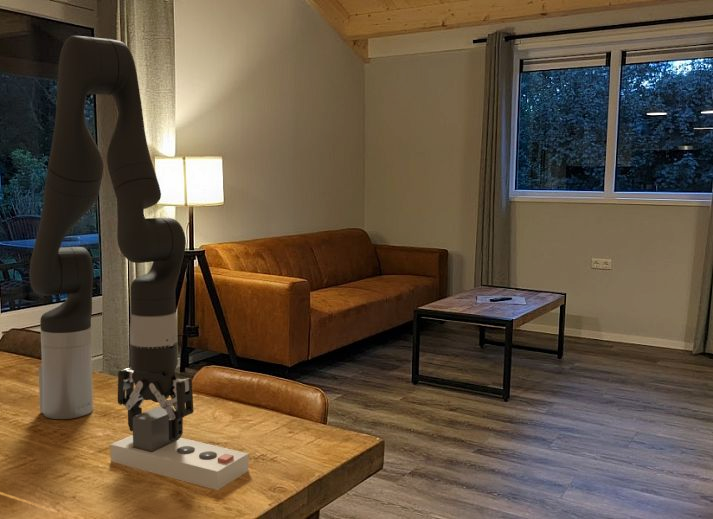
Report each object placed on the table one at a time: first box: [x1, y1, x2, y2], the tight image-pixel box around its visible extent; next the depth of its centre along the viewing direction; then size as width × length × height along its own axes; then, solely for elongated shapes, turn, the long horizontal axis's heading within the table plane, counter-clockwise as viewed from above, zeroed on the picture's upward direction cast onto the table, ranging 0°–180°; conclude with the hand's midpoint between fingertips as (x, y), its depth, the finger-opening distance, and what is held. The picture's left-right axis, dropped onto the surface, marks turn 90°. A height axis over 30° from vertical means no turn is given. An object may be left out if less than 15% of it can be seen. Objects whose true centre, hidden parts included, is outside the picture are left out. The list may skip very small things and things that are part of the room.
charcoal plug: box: [132, 406, 177, 452], centre depth 116 cm, size 4×6×8 cm, turn 154°
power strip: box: [110, 434, 249, 491], centre depth 114 cm, size 23×8×4 cm, turn 64°
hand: (155, 434), depth 116 cm, fingers open, 8 cm apart
